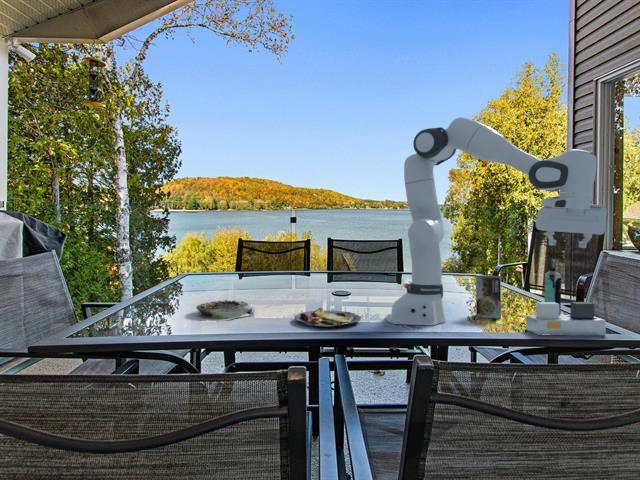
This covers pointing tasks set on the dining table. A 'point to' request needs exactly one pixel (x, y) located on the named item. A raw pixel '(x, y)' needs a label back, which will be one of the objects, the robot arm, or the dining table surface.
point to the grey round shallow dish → (224, 310)
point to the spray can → (553, 287)
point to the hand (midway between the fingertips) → (567, 246)
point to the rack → (569, 322)
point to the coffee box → (488, 296)
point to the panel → (547, 310)
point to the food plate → (327, 318)
